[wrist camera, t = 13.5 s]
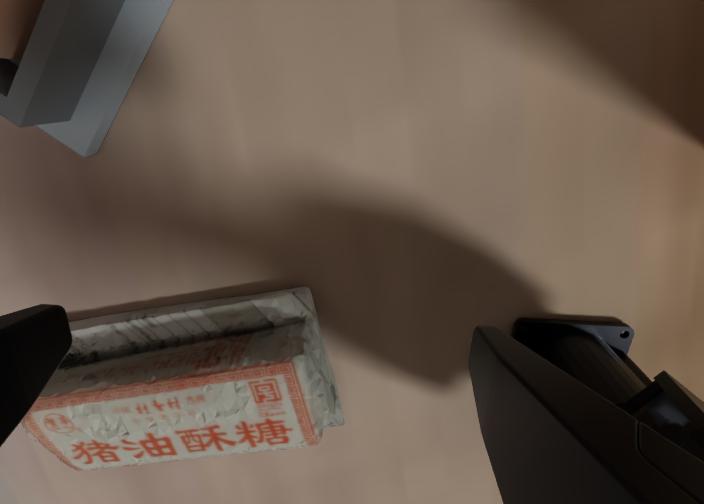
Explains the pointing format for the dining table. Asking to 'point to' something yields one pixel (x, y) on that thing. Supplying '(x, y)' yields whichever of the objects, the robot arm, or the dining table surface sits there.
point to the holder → (79, 67)
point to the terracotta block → (17, 26)
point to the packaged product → (189, 383)
